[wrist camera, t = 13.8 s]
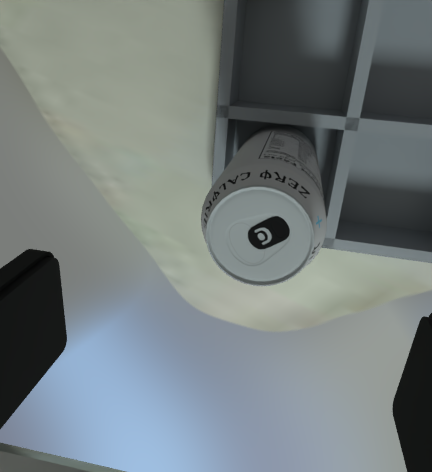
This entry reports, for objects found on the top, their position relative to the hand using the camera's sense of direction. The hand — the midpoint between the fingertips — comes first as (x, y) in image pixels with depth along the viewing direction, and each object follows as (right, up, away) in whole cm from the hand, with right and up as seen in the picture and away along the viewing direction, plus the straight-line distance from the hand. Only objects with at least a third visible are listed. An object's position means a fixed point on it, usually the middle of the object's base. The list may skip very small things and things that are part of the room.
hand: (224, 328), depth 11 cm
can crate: (+9, +11, +19) cm, 24 cm away
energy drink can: (+5, +8, +21) cm, 23 cm away
